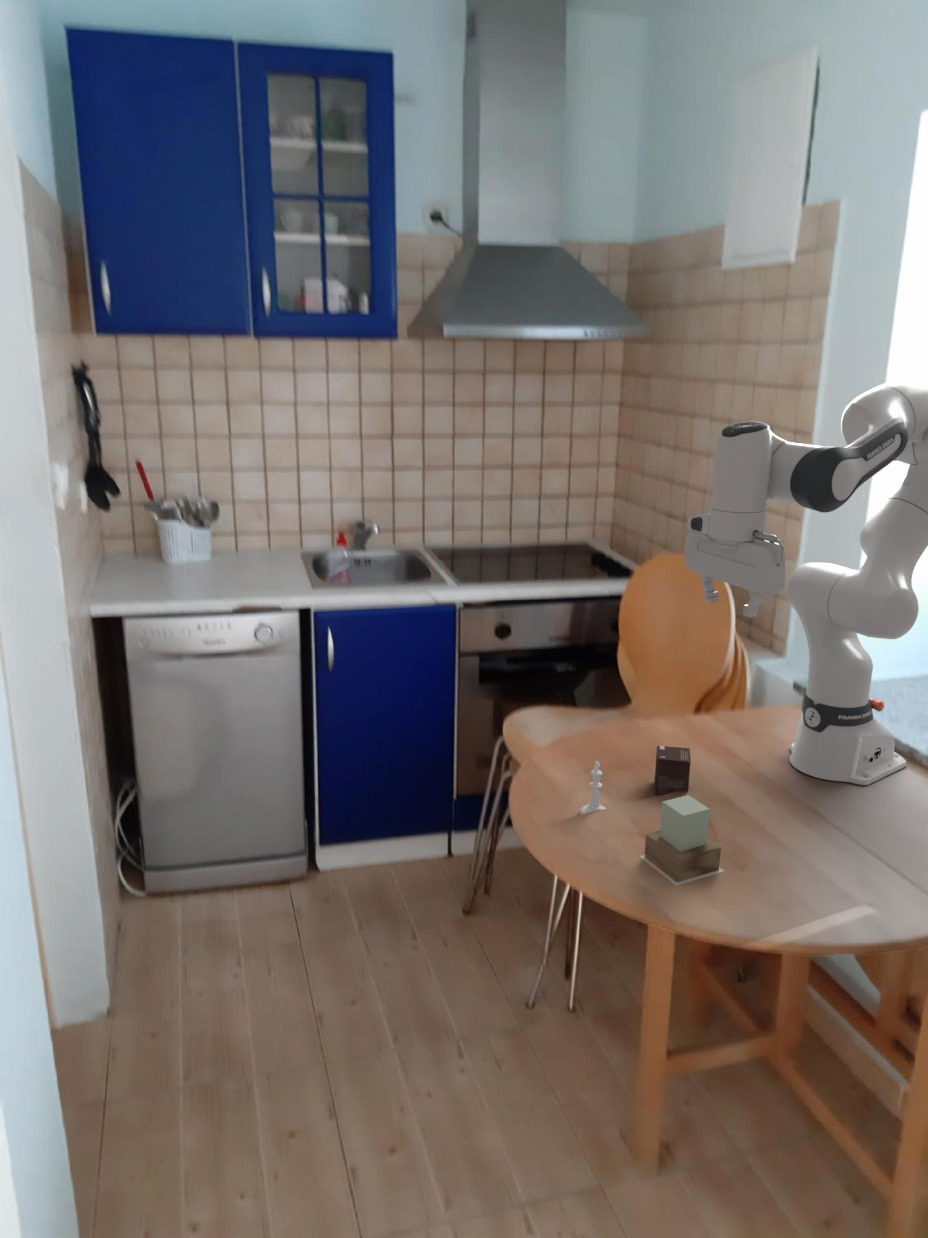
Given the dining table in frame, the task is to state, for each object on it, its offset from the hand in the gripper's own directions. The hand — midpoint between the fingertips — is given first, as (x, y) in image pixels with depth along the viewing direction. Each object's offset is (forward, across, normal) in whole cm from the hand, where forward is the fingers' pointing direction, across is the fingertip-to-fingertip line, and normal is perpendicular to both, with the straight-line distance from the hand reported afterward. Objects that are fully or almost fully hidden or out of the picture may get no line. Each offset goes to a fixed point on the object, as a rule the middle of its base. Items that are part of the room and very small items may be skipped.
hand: (730, 608), depth 156 cm
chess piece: (+37, +7, +20) cm, 42 cm away
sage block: (+31, -14, +18) cm, 39 cm away
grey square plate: (+36, -14, +16) cm, 42 cm away
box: (+37, +9, +2) cm, 38 cm away
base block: (+35, -14, +18) cm, 42 cm away
